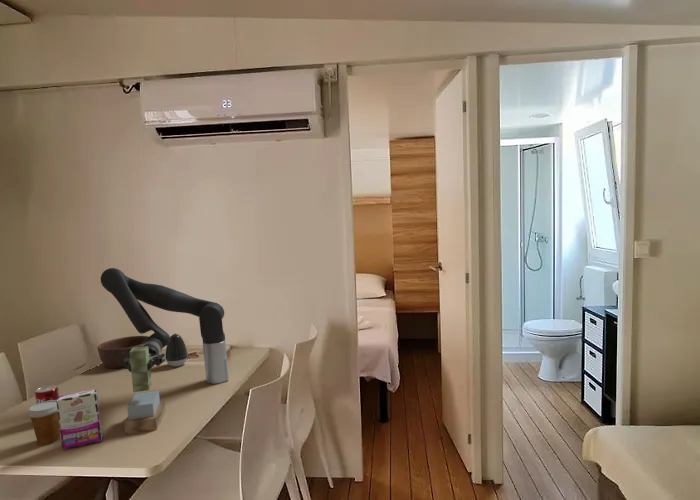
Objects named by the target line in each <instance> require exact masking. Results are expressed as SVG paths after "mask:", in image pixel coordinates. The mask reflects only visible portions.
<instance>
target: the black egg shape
mask: <svg viewBox="0 0 700 500" xmlns="http://www.w3.org/2000/svg"><path fill="white" fill-rule="evenodd" d="M169 336H170V343H169V344H168V345H166V346H165V361H166V363H167V364H168V366H170V367H172V368H177V367H181V365H182V366H184V365H185V364H184V363H185V362H186V363H187V361H188V357H189V353H188V349H187V346H186V344H185V341H184V339H183V337H182V336H181V335H179V334H177V333H174V334H171V335H169Z"/></svg>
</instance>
